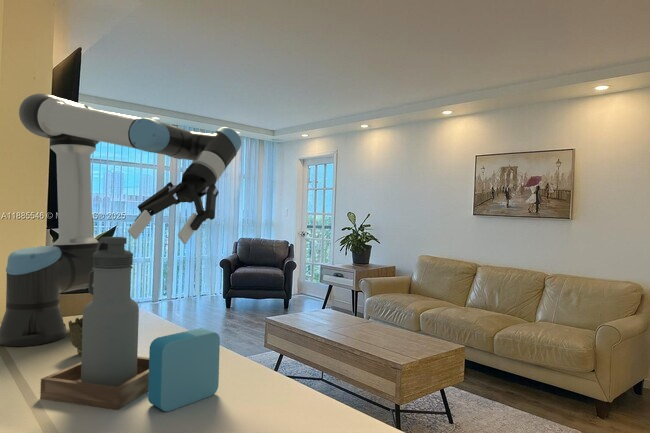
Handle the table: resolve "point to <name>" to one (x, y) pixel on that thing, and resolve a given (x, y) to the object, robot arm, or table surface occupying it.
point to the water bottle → (110, 317)
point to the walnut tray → (94, 387)
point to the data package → (183, 368)
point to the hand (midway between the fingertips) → (156, 237)
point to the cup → (76, 334)
